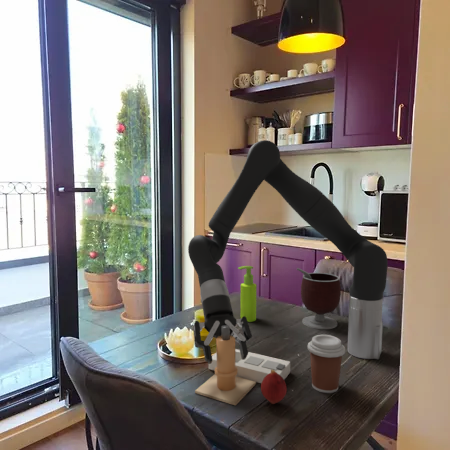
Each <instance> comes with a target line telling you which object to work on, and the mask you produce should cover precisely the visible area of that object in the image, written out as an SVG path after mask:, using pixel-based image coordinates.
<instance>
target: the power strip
mask: <svg viewBox="0 0 450 450" xmlns="http://www.w3.org/2000/svg"><path fill="white" fill-rule="evenodd" d="M235 366H236V367H237V369H238V373H237V375H236V377H240V378H244V379H247V380H251V381H255V382H256V383H258V384H261V383H262V381H263V379H264V377H265V376H266V375H268V374H269V373H271V370H275V372H276V373H277V374H279V375H280V376H281V377H282V378H283V379H284V380H286V378H287V377H288V375H289V374H290V373H291V361H289V360H284V359H280V358H275V357H271V356H268V355H263V354H260V353H254V352H251V351H248V355H247V357H246V359H244V360H242V358H241V353H240V349H239V348H235ZM216 367H217V352H215V353H214V354H212V363H211V364H208V370H211V371H214V372H215V368H216Z"/></svg>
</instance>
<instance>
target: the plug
mask: <svg viewBox="0 0 450 450" xmlns="http://www.w3.org/2000/svg"><path fill="white" fill-rule="evenodd" d="M215 340H216V342H215V343H216V347H215V349H216V353H217V367H216V368H215V371H214V374H215V375H216V376H217V387H218V388H219V389H220V390H224V391H228V390H232V389H234V388H235V387H236V375H237V373H238V369H237V367H236V366H235V349H236V340H235V337H233V336H230V326H228V325H224V326H222V336H219V337H217V338H215Z"/></svg>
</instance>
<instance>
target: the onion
mask: <svg viewBox="0 0 450 450" xmlns="http://www.w3.org/2000/svg"><path fill="white" fill-rule="evenodd" d="M287 390H288V388H287V384H286V380H285V379H283V378H282V377H281V376H280V375H279V374H277V373H276V372H275V370H271V373H269V374H268V375H266V376H265V377H264V379H263V381H262V383H260V391H261V394H262V396H263V398H265V399H266V400H267V401H269V403H270V404H271V405H275V404H278V403H279V402H282V400H284V398H285V397H286V395H287Z"/></svg>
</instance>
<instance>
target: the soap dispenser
mask: <svg viewBox="0 0 450 450" xmlns="http://www.w3.org/2000/svg"><path fill="white" fill-rule="evenodd" d="M237 269H238V270H241V271H242V270H244V269H245V270H246V273H245V274H244V275H243V283H240V301H239V302H240V303H239V304H240V312H239V313H240V315H239V317H240V318H239V319H241V318H242V317H243V316H245V317H246V318H247V321H248V323H252V322H255V321H257V284H256V283H254V275H253V274H252V269H254V267H253V266H251V265H243V266H241V265H240V266H239V267H237Z"/></svg>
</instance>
